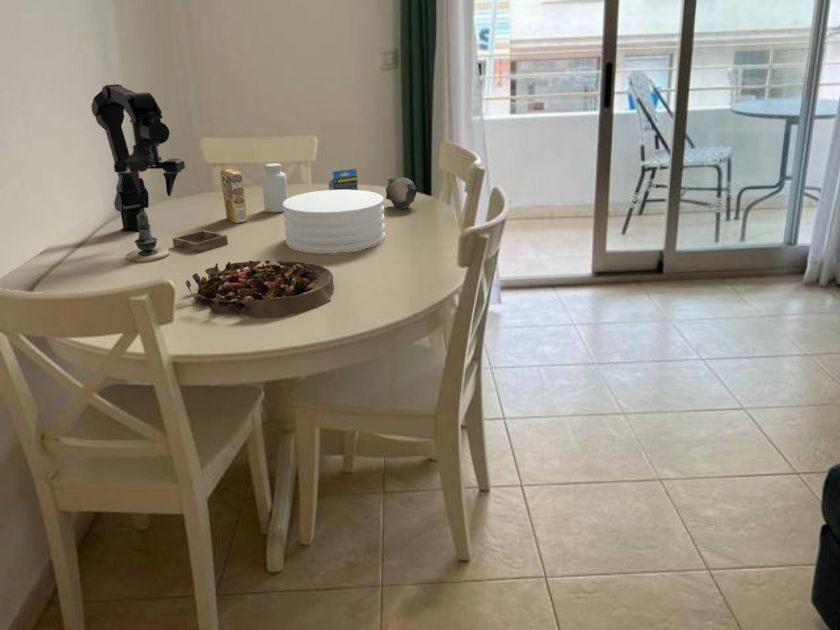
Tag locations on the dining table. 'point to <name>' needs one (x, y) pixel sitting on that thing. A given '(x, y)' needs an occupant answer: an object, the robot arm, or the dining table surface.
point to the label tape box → (344, 180)
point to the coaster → (135, 257)
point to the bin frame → (210, 237)
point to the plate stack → (334, 221)
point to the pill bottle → (274, 188)
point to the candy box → (234, 195)
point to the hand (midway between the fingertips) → (154, 195)
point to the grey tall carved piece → (145, 236)
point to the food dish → (264, 288)
